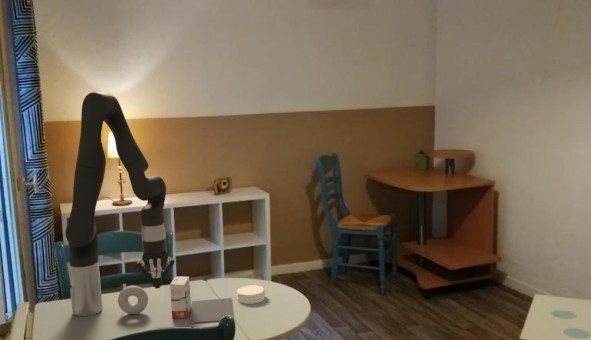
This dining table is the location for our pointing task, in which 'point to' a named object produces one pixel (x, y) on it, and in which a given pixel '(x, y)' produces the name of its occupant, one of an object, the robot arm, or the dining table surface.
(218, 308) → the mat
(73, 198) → the robot arm
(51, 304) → the dining table surface
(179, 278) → the ink box
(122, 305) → the donut
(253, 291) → the white round lidded container
